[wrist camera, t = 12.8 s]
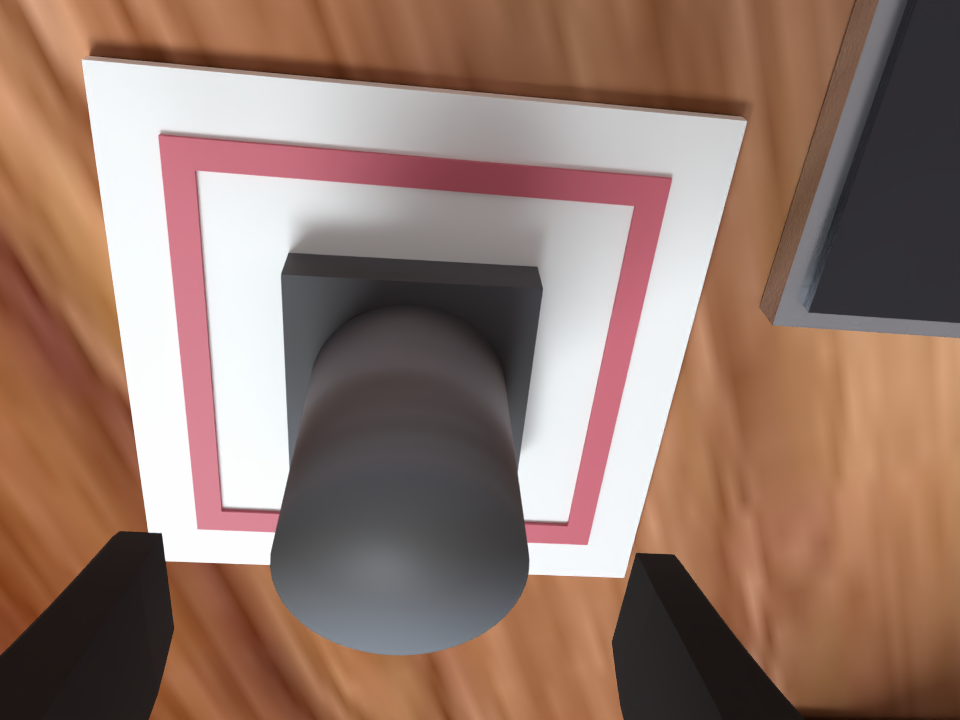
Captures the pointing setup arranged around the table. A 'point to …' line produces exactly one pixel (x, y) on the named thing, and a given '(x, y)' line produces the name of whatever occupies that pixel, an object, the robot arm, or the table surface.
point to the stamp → (404, 448)
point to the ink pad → (880, 183)
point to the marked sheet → (398, 235)
